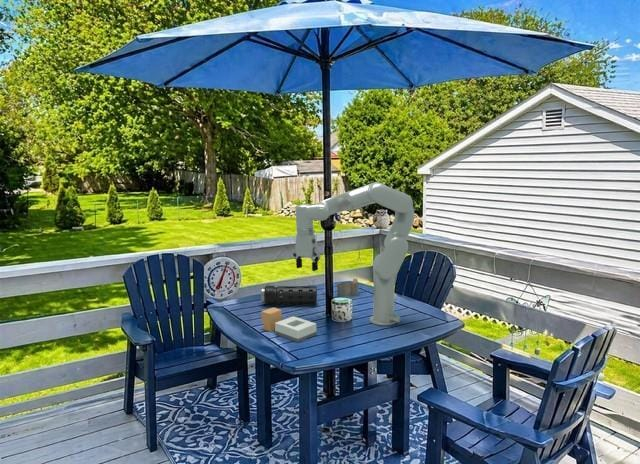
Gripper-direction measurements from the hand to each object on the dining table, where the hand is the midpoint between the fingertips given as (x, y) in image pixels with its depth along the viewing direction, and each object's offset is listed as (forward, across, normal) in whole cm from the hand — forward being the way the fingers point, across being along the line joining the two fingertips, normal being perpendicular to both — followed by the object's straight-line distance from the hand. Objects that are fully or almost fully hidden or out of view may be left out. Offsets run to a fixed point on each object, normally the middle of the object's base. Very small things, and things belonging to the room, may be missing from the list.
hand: (307, 269), depth 210 cm
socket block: (+25, -6, +15) cm, 30 cm away
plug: (+24, +7, +17) cm, 31 cm away
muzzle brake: (+25, +25, -11) cm, 37 cm away
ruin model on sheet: (+26, +12, -43) cm, 52 cm away
